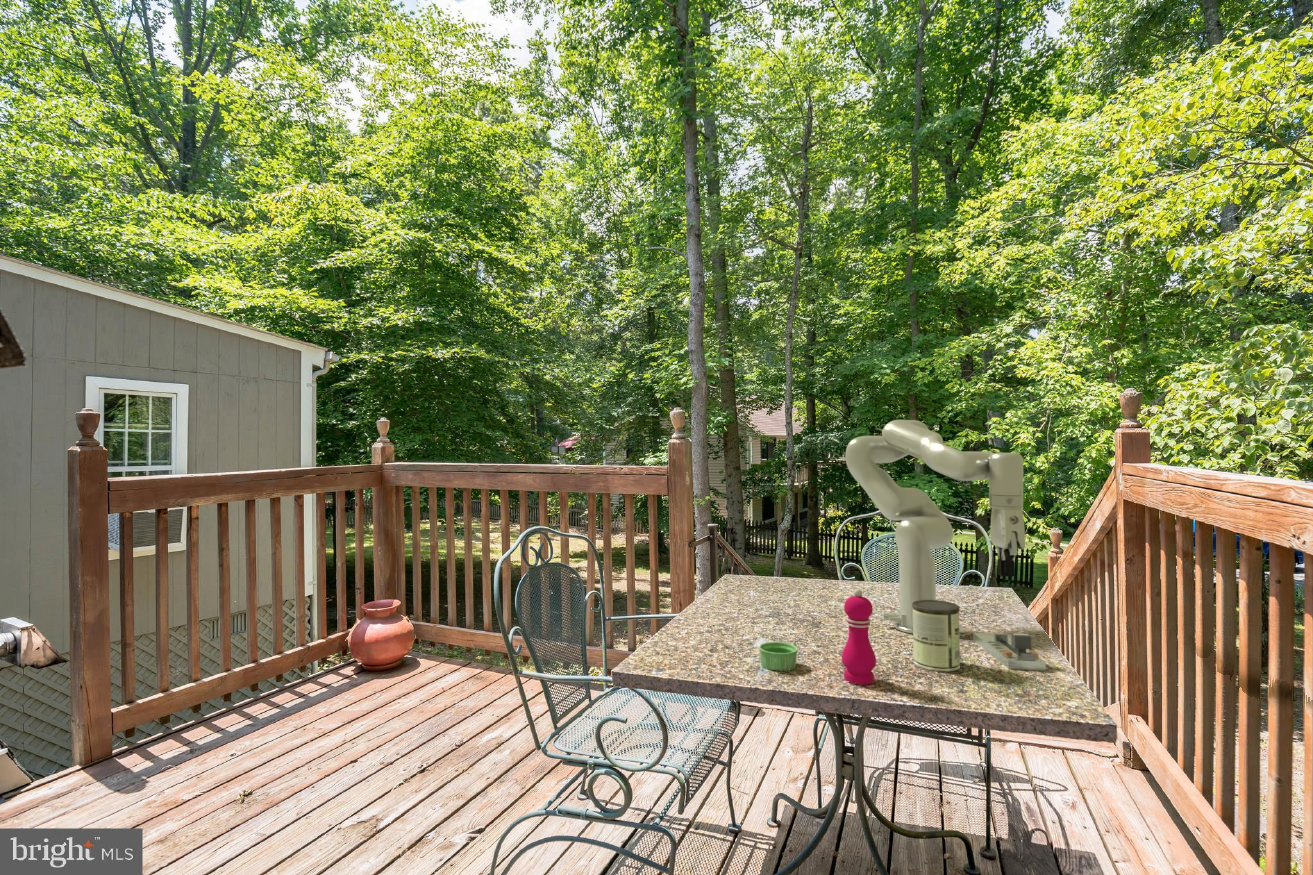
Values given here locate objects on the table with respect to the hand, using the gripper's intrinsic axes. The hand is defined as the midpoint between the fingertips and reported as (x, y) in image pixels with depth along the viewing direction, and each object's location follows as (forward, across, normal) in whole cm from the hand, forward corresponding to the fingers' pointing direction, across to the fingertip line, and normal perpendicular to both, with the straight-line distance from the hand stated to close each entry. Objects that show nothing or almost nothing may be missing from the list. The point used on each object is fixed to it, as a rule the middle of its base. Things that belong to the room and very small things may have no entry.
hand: (1006, 575), depth 162 cm
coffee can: (+20, -11, +20) cm, 30 cm away
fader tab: (+17, -8, 0) cm, 19 cm away
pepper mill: (+20, -25, +40) cm, 51 cm away
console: (+19, -1, 0) cm, 19 cm away
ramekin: (+20, -17, +57) cm, 62 cm away
